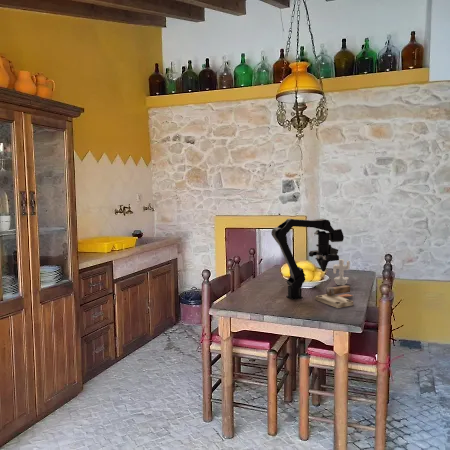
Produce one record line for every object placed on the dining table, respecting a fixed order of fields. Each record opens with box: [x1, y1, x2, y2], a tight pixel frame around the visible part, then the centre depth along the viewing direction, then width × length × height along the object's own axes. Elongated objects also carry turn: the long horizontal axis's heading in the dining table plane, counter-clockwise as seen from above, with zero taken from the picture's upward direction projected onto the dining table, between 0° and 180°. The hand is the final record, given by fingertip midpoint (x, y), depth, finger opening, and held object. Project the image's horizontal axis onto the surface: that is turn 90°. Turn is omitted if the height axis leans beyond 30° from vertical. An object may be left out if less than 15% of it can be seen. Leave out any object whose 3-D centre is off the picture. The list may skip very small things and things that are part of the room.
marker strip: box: [337, 293, 353, 298], centre depth 231 cm, size 10×4×1 cm, turn 115°
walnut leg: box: [325, 284, 351, 295], centre depth 230 cm, size 14×4×3 cm, turn 116°
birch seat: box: [315, 293, 354, 309], centre depth 221 cm, size 10×17×2 cm, turn 25°
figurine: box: [332, 258, 351, 286], centre depth 257 cm, size 7×9×15 cm
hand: (323, 271), depth 233 cm, fingers closed
